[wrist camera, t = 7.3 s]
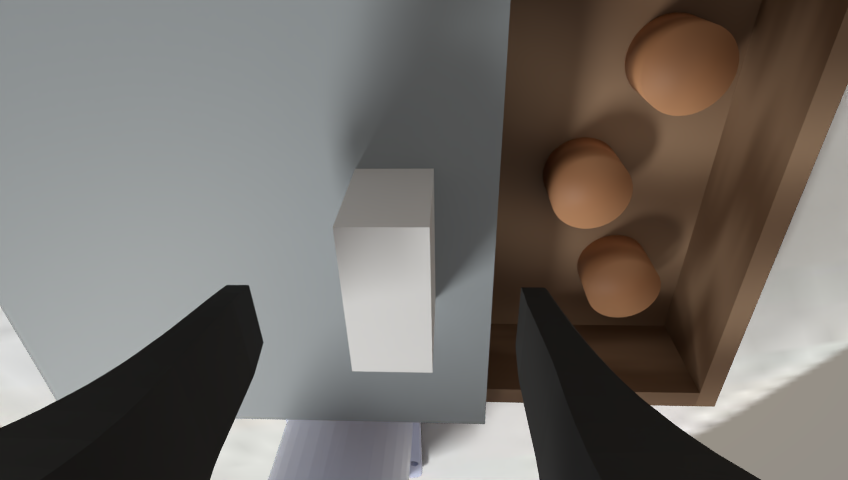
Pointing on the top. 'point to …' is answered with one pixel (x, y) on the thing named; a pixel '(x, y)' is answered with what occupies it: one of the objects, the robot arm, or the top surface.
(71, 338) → the lid
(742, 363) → the top surface
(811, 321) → the top surface
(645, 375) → the walnut box
